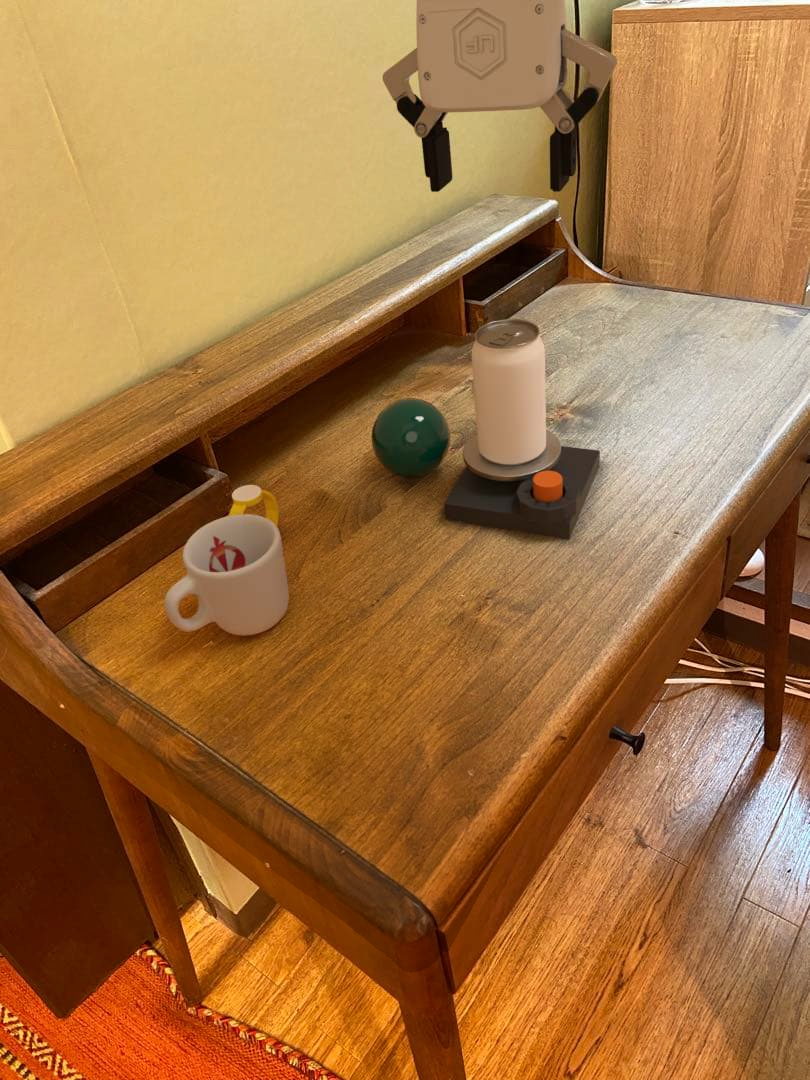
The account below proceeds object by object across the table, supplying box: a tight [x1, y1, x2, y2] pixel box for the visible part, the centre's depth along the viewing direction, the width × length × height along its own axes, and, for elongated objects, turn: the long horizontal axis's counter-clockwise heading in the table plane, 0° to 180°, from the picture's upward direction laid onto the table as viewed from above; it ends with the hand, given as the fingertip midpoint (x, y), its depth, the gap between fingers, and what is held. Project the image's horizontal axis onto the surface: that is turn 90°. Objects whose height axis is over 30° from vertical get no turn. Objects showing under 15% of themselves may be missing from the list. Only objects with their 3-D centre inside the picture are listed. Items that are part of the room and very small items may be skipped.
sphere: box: [371, 397, 451, 479], centre depth 83 cm, size 8×8×8 cm
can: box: [471, 318, 547, 466], centre depth 75 cm, size 6×6×12 cm
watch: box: [228, 484, 280, 527], centre depth 77 cm, size 6×3×6 cm, turn 151°
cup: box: [164, 513, 290, 636], centre depth 68 cm, size 11×8×8 cm
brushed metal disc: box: [462, 429, 562, 481], centre depth 79 cm, size 9×9×1 cm
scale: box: [443, 445, 601, 540], centre depth 79 cm, size 12×13×4 cm
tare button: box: [533, 471, 563, 502], centre depth 74 cm, size 3×3×2 cm
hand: (499, 186), depth 64 cm, fingers open, 9 cm apart
